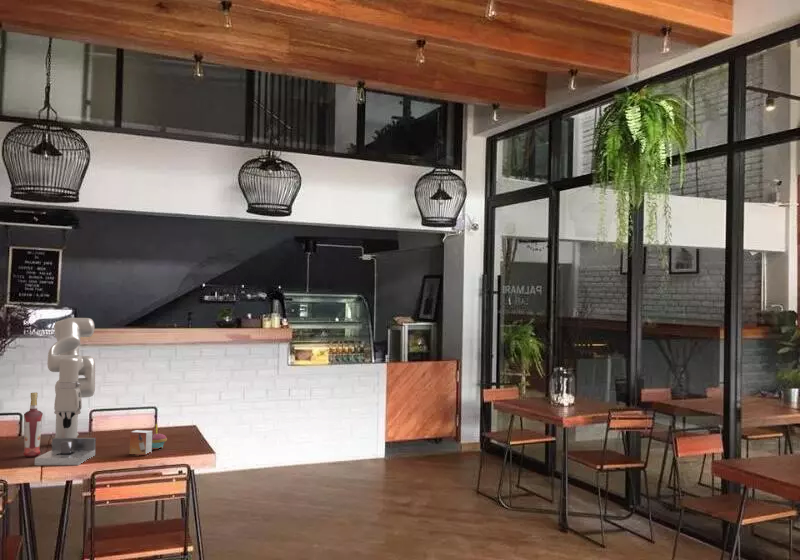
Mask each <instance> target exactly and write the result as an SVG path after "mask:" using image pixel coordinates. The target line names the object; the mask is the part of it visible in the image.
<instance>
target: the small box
mask: <svg viewBox="0 0 800 560" xmlns="http://www.w3.org/2000/svg"><path fill="white" fill-rule="evenodd" d="M152 435H153V430H140V429H136V430H132V431H130V434H129V450H128V451H129V453H128V454H147V453H149V452H151V453H152V450H153V449H152Z"/></svg>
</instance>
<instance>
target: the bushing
mask: <svg viewBox="0 0 800 560" xmlns="http://www.w3.org/2000/svg"><path fill="white" fill-rule="evenodd" d="M60 455H72V441H63V442H61V450H60Z"/></svg>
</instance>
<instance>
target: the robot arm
mask: <svg viewBox="0 0 800 560" xmlns="http://www.w3.org/2000/svg"><path fill="white" fill-rule="evenodd" d="M53 327H54V328H53V331H54V335H55V338H56V342H55V343H53V345H51V347H50V348H49V350H48V353H47V369H48V371H49V372H52V373H59V374H58V377H59V378H58V380H57V381H56V382H55V385H54V392H55V398H54V408H53V409H54V415H55V436H54V438H78V436H79V435H80V434H79V432H78V425H79V424H78V421H79V420H78V418H79V415H80V414H82V413H81V409H82V406H83V403H82V398H91V397H93V396H94V394H95V390H96V362H95V359H94V358H93V356H91V355H80V347H79V346H80V344H81V338H90V337H92V336H93V335H94V333H95V322H94V320H93V319H92V318H89V317H68V318H64V319H61V320H58V321H56V322H55V324H54V326H53ZM79 376H83V377H79ZM51 446H52V442H51Z"/></svg>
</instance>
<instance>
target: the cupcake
mask: <svg viewBox="0 0 800 560" xmlns="http://www.w3.org/2000/svg"><path fill="white" fill-rule="evenodd" d="M167 440H168V438H167V435H165V434H163V433H158V423H155V433H152V448H160V447H162V448H163V447H164V445H165V442H167Z"/></svg>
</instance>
